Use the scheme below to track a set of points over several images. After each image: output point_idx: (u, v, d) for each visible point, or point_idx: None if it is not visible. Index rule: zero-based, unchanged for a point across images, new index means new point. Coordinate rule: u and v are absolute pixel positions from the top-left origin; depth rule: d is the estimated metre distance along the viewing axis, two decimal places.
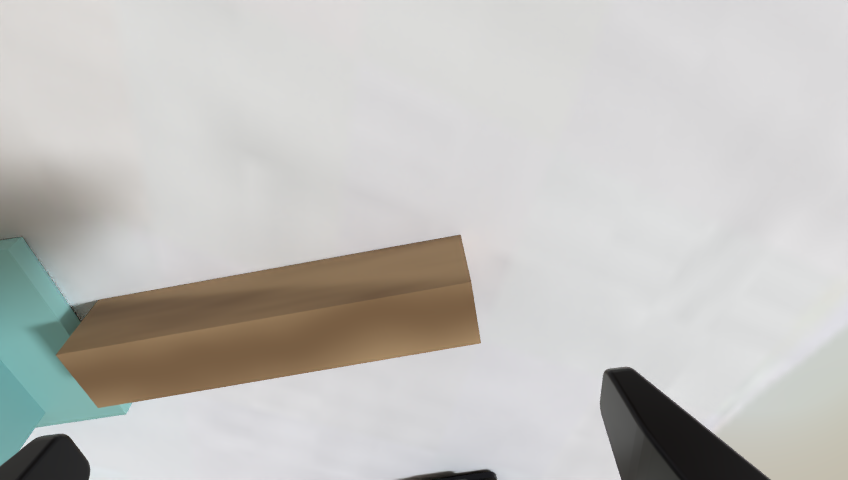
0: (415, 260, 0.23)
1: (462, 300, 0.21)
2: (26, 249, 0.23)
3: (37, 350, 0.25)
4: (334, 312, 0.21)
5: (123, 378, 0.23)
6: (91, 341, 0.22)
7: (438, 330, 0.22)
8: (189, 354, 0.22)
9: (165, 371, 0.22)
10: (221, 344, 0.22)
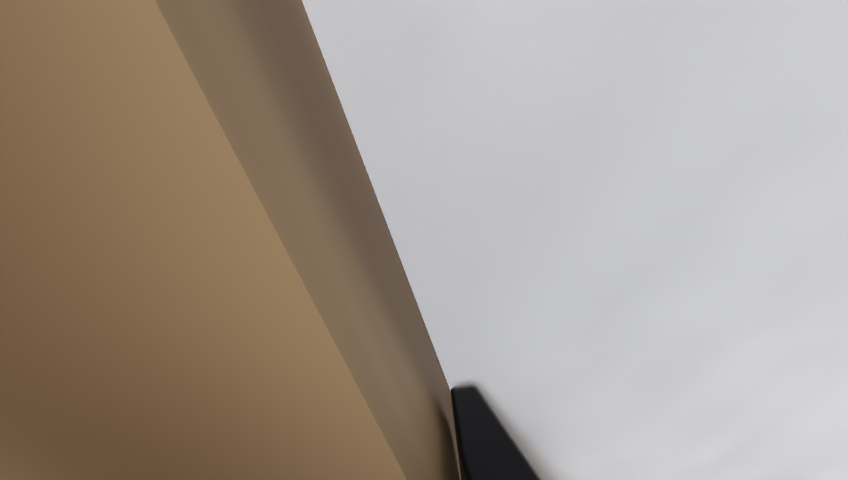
0: None
1: None
2: None
3: None
4: None
5: None
6: None
7: None
8: None
9: None
10: None
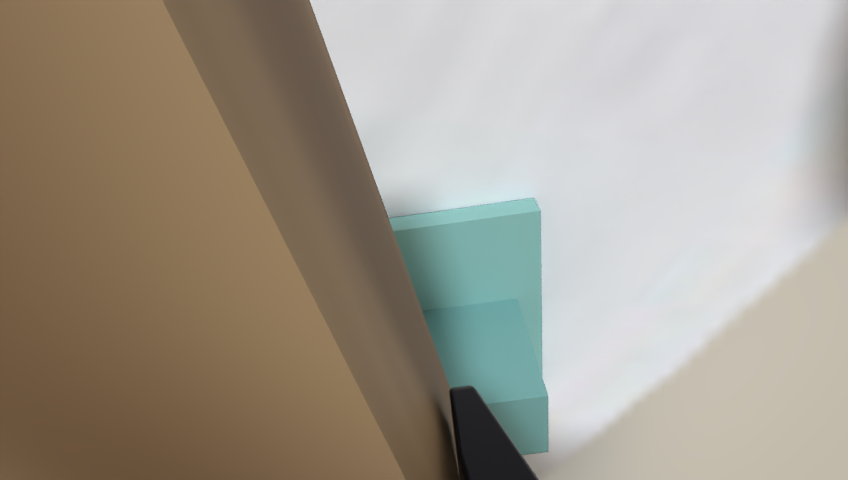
0: None
1: None
2: None
3: None
4: None
5: None
6: None
7: None
8: None
9: None
10: None
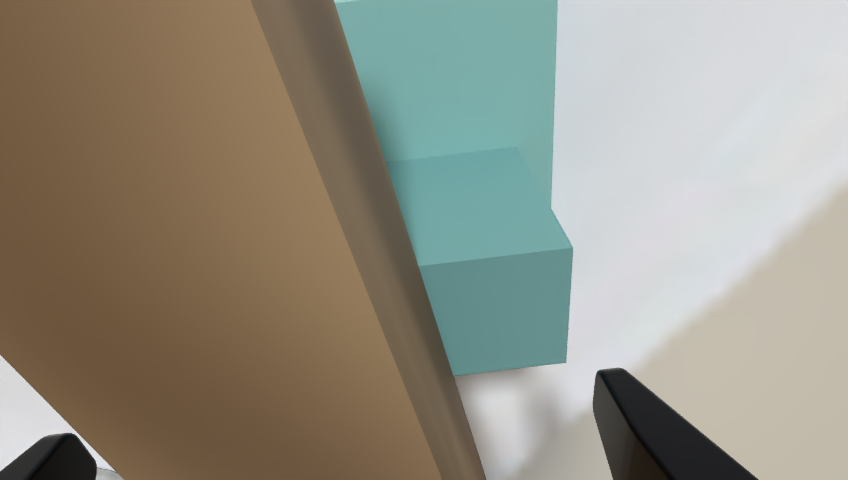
0: None
1: None
2: None
3: None
4: (94, 417, 0.05)
5: None
6: None
7: None
8: None
9: None
10: None
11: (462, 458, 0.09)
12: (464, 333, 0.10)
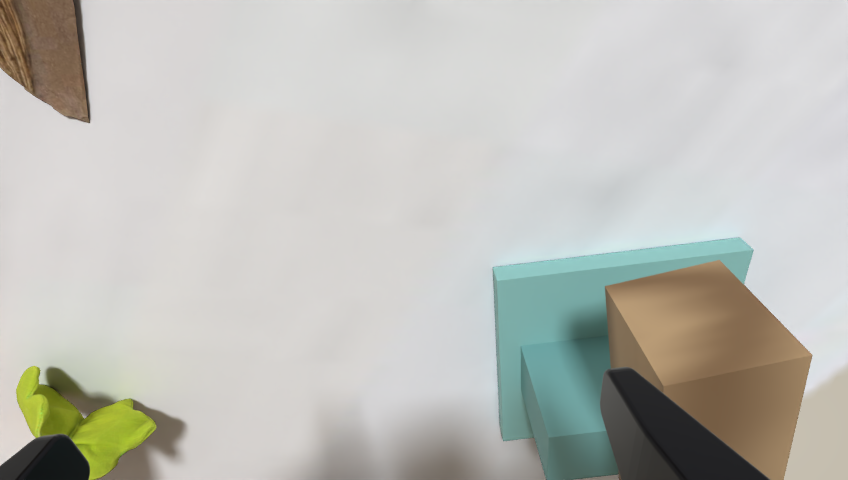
0: None
1: (698, 391, 0.12)
2: (506, 268, 0.22)
3: None
4: None
5: None
6: None
7: (754, 411, 0.13)
8: None
9: None
10: None
11: None
12: None
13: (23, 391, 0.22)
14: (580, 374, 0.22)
